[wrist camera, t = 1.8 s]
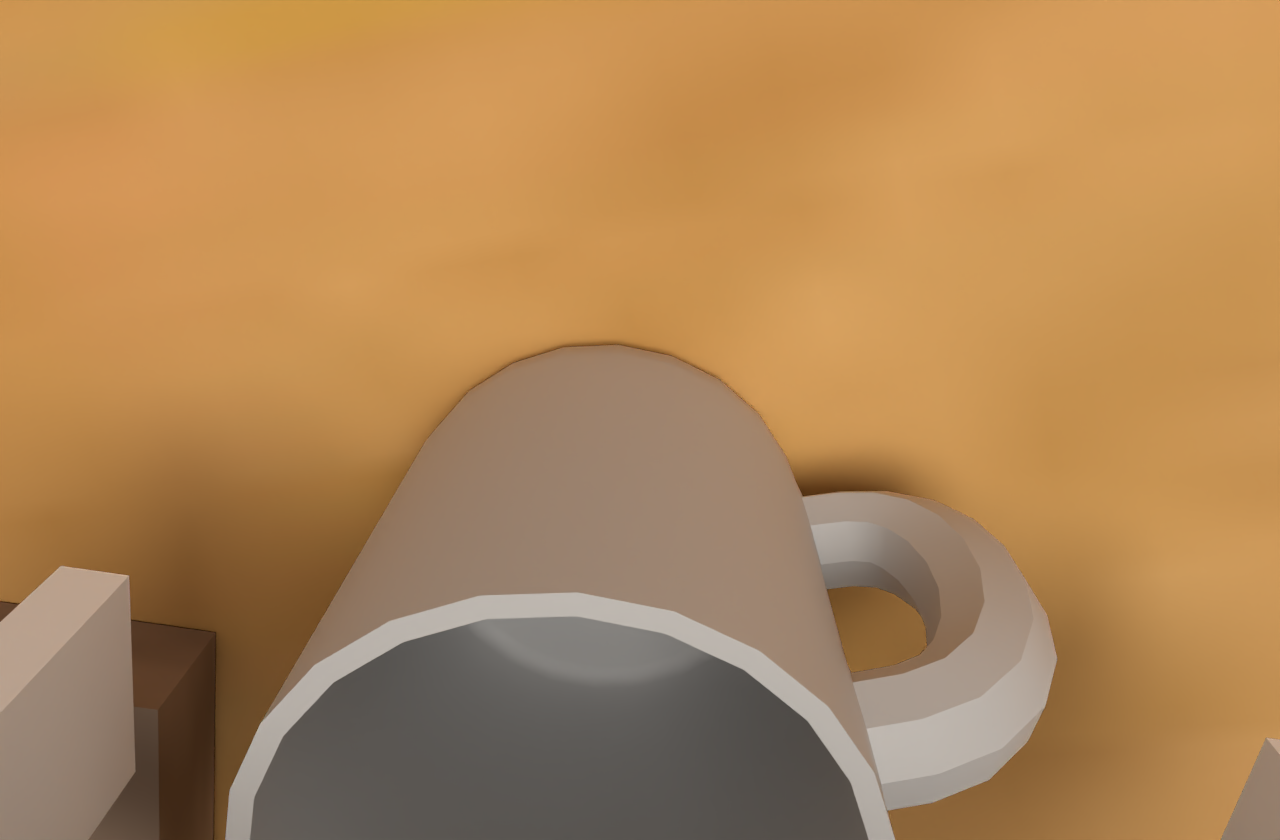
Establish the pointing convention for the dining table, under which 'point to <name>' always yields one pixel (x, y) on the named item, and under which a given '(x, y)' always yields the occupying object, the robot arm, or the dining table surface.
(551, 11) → the dining table surface
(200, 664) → the board
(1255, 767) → the robot arm
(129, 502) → the dining table surface
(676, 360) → the cup
